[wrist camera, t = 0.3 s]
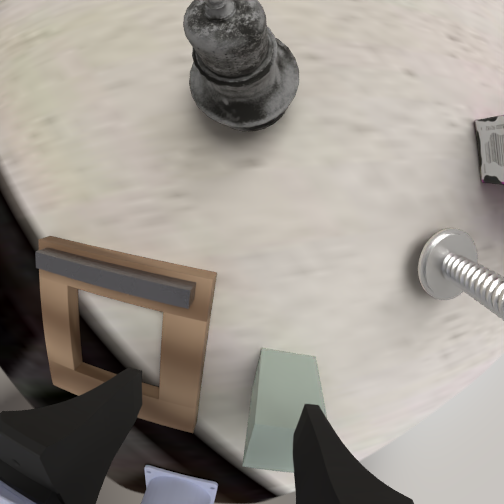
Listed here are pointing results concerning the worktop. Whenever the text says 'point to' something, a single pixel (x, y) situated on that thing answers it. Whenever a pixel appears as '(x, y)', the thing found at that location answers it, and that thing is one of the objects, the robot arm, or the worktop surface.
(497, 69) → the worktop surface
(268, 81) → the grey chess piece
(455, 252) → the screw
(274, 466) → the peg
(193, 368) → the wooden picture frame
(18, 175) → the worktop surface
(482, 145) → the candy bar box
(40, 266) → the metal rail
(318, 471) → the robot arm
